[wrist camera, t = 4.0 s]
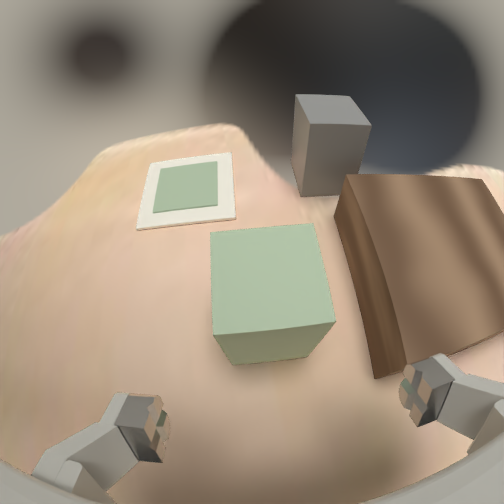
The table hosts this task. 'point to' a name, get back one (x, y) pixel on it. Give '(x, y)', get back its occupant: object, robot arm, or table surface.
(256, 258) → the sage block
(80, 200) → the table surface
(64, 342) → the table surface
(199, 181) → the swatch
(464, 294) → the walnut plinth
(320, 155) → the grey block
